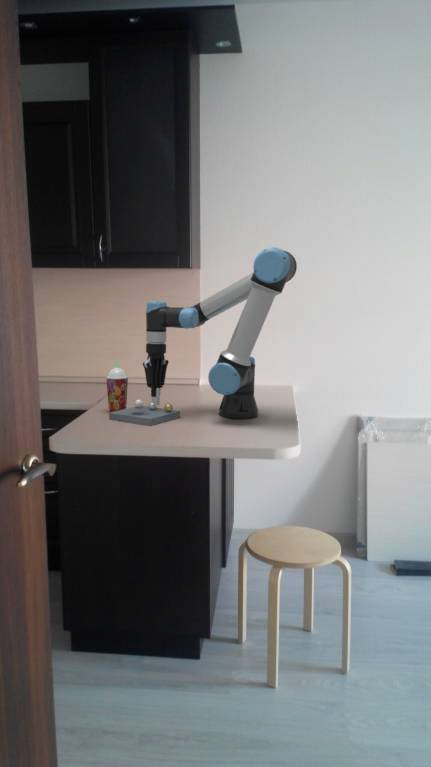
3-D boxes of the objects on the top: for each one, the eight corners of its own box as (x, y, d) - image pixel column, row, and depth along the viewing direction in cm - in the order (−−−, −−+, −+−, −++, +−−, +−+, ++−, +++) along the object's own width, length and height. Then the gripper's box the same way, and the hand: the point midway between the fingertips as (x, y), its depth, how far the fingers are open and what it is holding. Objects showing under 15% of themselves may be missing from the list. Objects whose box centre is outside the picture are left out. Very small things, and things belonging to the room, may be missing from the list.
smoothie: (131, 410, 233) (131, 360, 230) (122, 414, 225) (122, 362, 222) (112, 408, 235) (111, 359, 232) (102, 412, 227) (102, 361, 224)
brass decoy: (174, 411, 219) (174, 403, 218) (169, 413, 216) (169, 404, 215) (167, 410, 220) (167, 402, 220) (162, 412, 218) (162, 403, 217)
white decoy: (144, 407, 226) (144, 399, 225) (139, 408, 223) (139, 400, 223) (138, 406, 228) (138, 398, 227) (133, 407, 225) (133, 399, 224)
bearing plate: (180, 417, 221) (180, 411, 220) (150, 426, 205) (150, 419, 205) (140, 411, 230) (140, 405, 230) (109, 419, 215) (109, 412, 215)
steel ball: (159, 408, 222) (157, 400, 221) (154, 412, 220) (152, 404, 218) (152, 407, 224) (150, 399, 222) (147, 411, 221) (145, 403, 220)
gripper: (159, 341, 227) (158, 401, 231) (137, 343, 216) (136, 406, 220) (174, 342, 223) (173, 403, 227) (152, 344, 212) (152, 408, 216)
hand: (155, 404), depth 223 cm, fingers closed
